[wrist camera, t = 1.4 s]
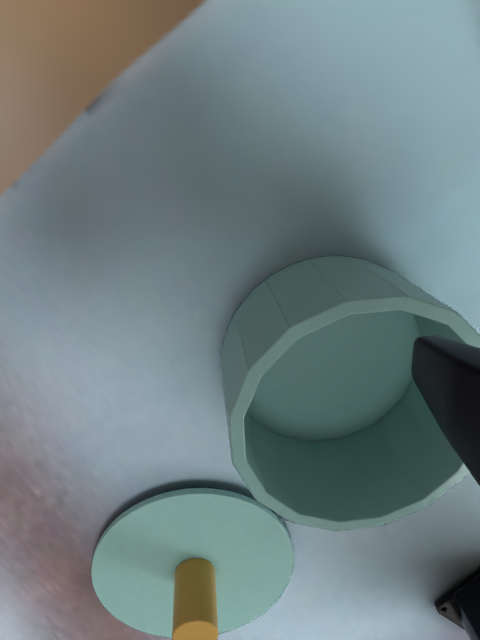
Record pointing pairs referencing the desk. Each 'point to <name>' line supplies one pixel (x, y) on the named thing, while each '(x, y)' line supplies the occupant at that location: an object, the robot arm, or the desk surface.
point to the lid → (192, 563)
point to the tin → (337, 395)
